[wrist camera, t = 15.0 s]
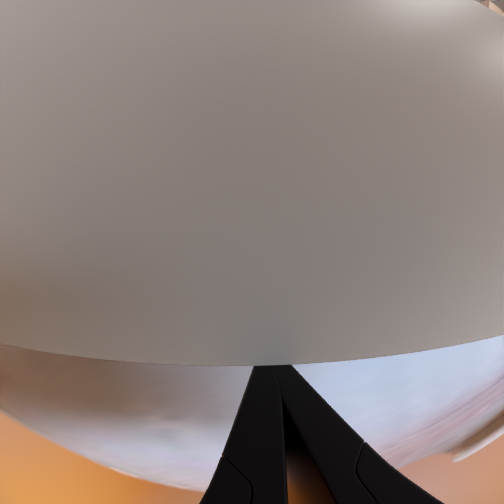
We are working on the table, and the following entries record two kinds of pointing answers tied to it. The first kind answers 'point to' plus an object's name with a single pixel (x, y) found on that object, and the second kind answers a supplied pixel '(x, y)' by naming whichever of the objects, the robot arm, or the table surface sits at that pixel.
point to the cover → (250, 178)
